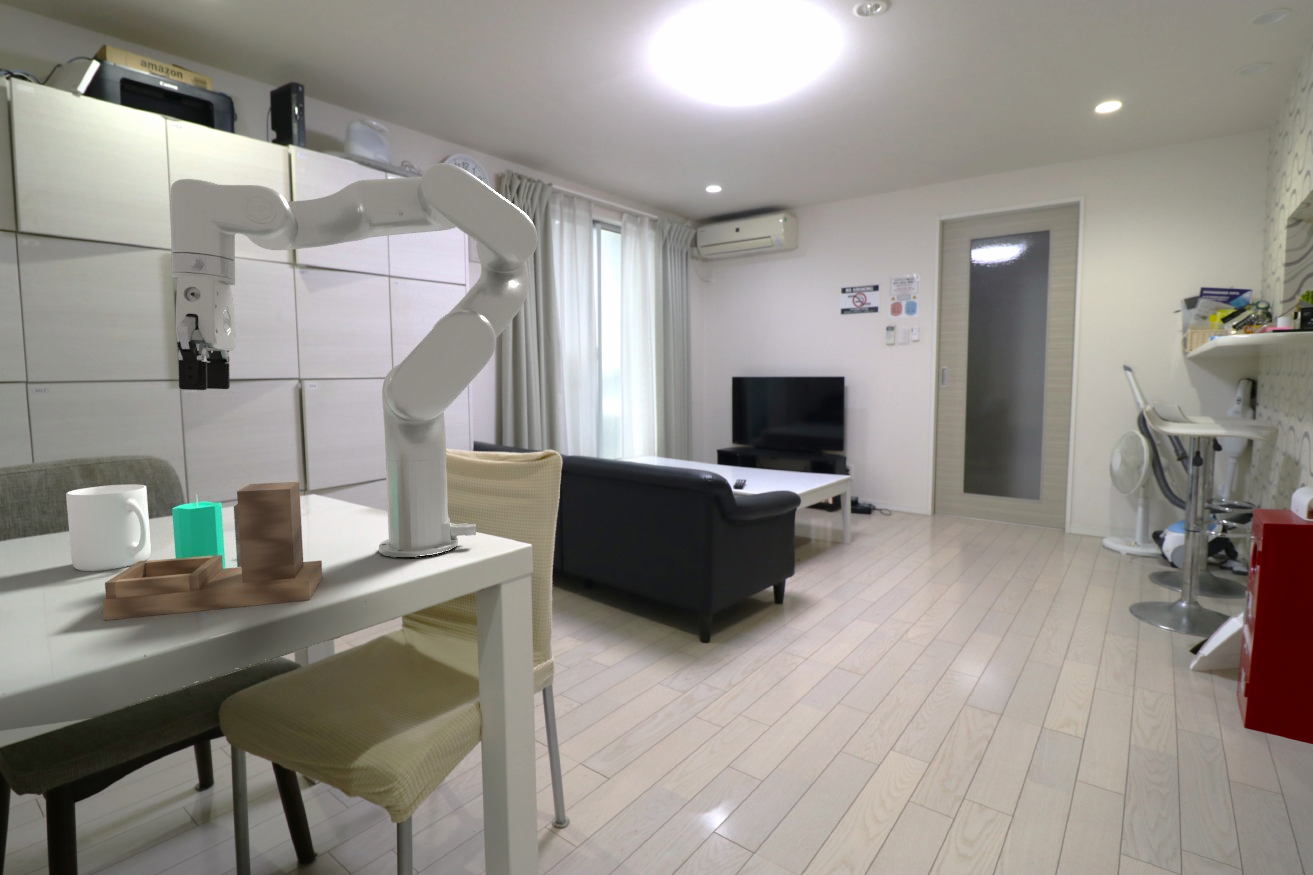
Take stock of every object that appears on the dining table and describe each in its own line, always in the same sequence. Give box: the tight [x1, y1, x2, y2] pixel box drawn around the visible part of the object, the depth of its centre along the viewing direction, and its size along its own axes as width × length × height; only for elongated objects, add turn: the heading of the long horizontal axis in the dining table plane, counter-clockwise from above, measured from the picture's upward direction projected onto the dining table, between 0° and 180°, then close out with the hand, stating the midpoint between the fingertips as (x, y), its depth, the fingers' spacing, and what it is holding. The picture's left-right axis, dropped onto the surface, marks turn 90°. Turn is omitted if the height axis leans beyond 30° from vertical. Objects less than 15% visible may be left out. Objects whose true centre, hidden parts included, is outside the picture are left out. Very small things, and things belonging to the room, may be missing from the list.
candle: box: [171, 494, 227, 569], centre depth 94 cm, size 6×6×12 cm
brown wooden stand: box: [102, 481, 323, 621], centre depth 84 cm, size 22×10×14 cm, turn 109°
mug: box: [65, 484, 152, 572], centre depth 100 cm, size 10×12×12 cm
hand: (205, 389), depth 94 cm, fingers open, 9 cm apart
